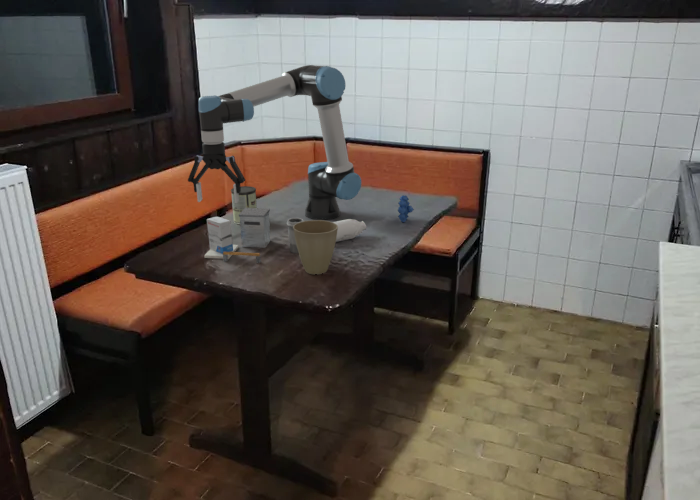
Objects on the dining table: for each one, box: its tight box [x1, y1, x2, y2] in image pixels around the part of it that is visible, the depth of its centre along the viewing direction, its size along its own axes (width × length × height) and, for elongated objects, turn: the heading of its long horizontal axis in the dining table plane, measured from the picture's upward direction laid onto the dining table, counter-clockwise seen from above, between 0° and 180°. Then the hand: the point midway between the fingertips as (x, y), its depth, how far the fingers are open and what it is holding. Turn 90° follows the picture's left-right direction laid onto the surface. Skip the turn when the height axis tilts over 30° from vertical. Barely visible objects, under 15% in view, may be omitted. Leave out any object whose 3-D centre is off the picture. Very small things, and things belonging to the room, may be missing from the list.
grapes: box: [397, 194, 415, 223], centre depth 259 cm, size 12×7×12 cm, turn 163°
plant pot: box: [293, 219, 338, 275], centre depth 208 cm, size 15×15×16 cm
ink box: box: [206, 216, 234, 254], centre depth 225 cm, size 9×5×12 cm, turn 47°
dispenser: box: [222, 208, 271, 264], centre depth 227 cm, size 13×24×13 cm, turn 173°
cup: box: [286, 217, 305, 254], centre depth 227 cm, size 7×7×12 cm
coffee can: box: [230, 185, 258, 225], centre depth 260 cm, size 10×10×14 cm
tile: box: [204, 244, 239, 260], centre depth 227 cm, size 9×12×1 cm
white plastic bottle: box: [332, 218, 367, 243], centre depth 239 cm, size 8×19×8 cm, turn 123°
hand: (218, 201), depth 221 cm, fingers open, 13 cm apart
